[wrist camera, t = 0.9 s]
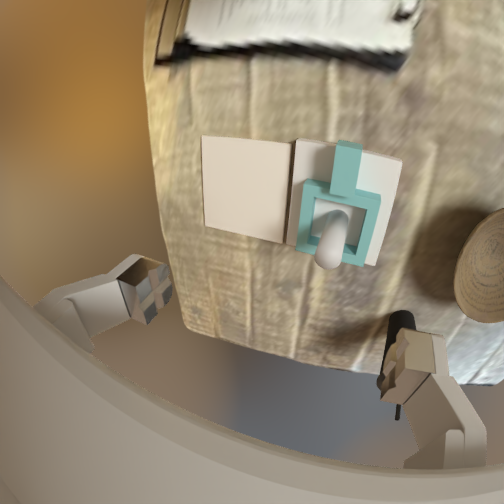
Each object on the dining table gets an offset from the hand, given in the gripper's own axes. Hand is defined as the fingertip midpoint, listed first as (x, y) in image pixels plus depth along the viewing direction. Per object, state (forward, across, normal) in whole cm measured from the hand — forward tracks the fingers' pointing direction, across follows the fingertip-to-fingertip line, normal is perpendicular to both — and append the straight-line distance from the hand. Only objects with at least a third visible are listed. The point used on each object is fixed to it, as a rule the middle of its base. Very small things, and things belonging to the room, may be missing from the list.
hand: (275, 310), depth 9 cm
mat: (+32, +14, +8) cm, 36 cm away
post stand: (+31, -1, +8) cm, 32 cm away
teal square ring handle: (+29, -1, +7) cm, 30 cm away
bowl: (+32, -26, +8) cm, 42 cm away
